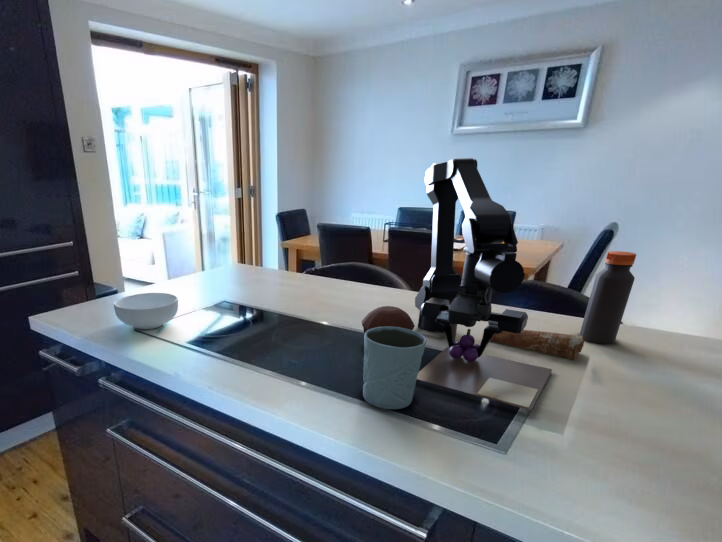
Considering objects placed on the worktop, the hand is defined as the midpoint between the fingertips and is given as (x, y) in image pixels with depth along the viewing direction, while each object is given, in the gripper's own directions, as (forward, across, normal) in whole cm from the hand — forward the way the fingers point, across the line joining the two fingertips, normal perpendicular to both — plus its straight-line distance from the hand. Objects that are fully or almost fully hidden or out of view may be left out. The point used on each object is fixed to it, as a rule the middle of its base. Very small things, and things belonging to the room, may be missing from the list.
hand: (464, 353), depth 91 cm
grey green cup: (+3, -6, -23) cm, 24 cm away
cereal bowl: (+3, -75, -24) cm, 79 cm away
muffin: (+3, -16, -3) cm, 16 cm away
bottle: (+3, +20, +33) cm, 39 cm away
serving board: (+2, +5, -5) cm, 7 cm away
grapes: (+1, 0, 0) cm, 1 cm away
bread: (+3, +9, +15) cm, 18 cm away
